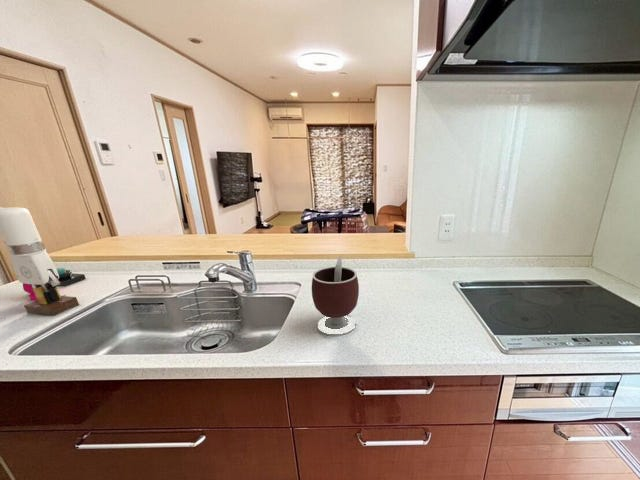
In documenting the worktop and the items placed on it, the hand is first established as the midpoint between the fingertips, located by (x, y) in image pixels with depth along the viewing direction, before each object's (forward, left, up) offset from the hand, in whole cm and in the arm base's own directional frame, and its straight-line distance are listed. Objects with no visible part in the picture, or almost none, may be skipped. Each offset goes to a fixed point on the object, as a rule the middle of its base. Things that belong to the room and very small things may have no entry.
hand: (50, 300), depth 99 cm
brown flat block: (0, 0, -3) cm, 3 cm away
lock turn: (0, 0, 0) cm, 0 cm away
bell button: (-22, +20, 0) cm, 30 cm away
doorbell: (-22, +20, -3) cm, 30 cm away
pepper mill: (-14, +7, -3) cm, 16 cm away
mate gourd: (+97, +6, -3) cm, 97 cm away
